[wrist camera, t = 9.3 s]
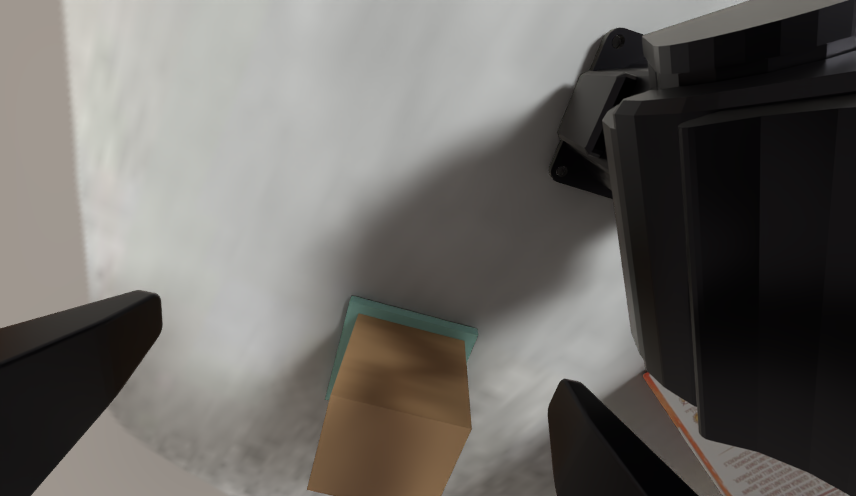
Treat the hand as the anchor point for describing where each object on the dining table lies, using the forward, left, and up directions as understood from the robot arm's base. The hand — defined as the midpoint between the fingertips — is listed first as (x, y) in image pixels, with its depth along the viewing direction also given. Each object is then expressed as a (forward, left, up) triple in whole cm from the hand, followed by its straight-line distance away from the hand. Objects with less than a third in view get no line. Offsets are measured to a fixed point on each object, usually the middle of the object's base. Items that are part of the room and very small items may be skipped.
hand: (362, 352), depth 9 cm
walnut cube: (-2, +10, -11) cm, 15 cm away
